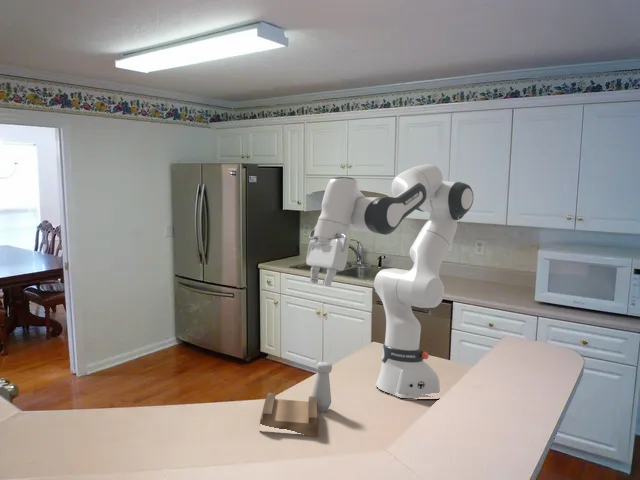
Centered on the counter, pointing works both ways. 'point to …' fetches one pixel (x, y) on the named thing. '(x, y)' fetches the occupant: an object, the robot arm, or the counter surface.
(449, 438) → the counter surface
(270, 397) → the display stand
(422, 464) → the counter surface
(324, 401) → the salt shaker
